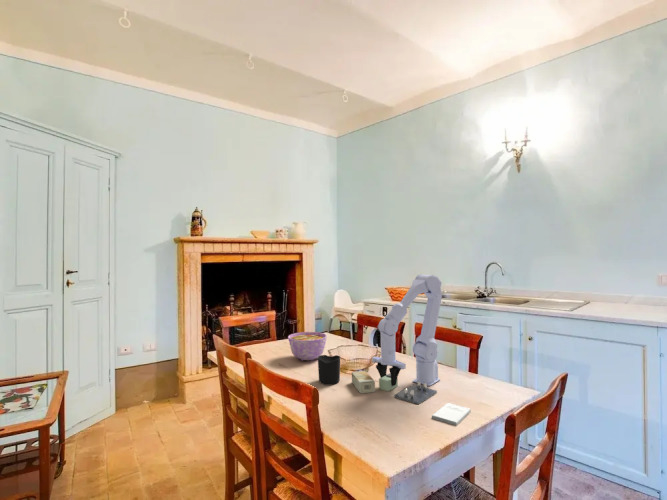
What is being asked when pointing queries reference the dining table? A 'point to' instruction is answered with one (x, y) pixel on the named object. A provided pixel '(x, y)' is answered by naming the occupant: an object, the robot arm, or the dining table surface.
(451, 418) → the external hard drive
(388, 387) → the green block
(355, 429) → the dining table surface
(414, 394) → the plate
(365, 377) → the skincare box
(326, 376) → the pen holder
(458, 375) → the dining table surface
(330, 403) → the dining table surface
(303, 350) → the bowl of food
